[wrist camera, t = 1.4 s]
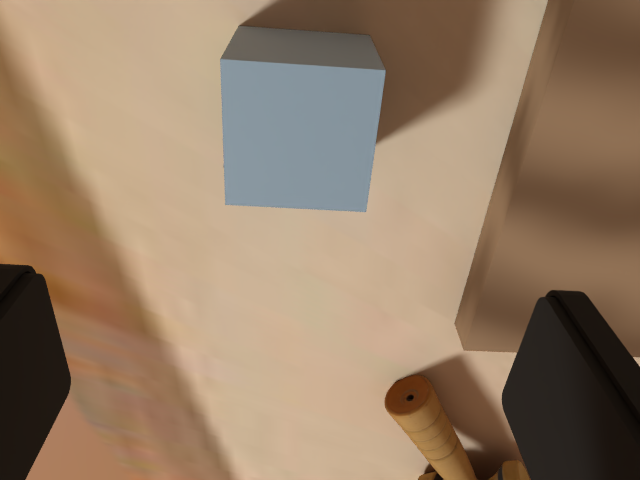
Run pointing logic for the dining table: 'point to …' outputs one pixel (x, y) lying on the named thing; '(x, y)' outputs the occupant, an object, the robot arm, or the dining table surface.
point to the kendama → (437, 432)
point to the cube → (300, 118)
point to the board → (566, 182)
